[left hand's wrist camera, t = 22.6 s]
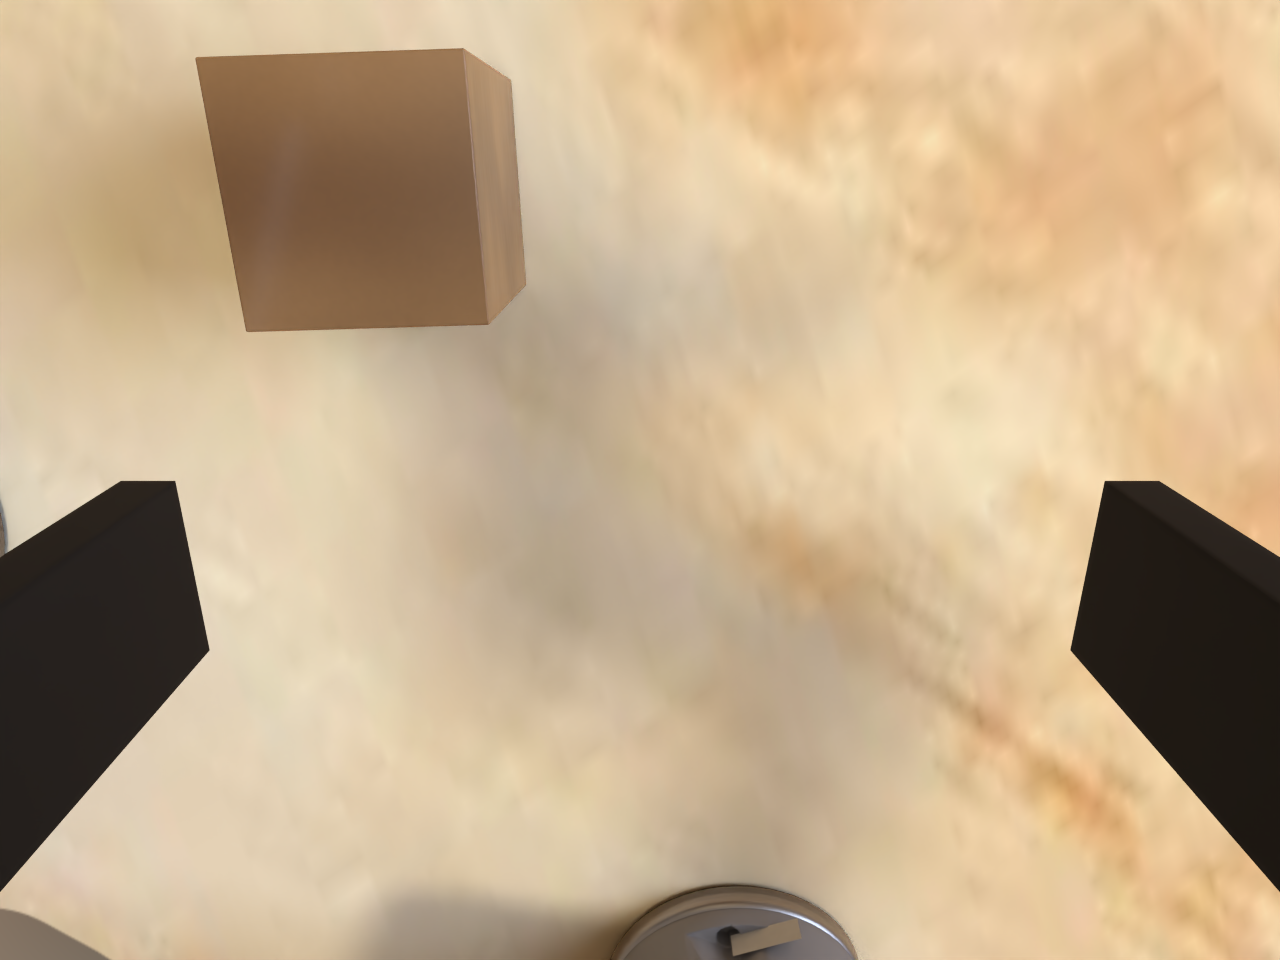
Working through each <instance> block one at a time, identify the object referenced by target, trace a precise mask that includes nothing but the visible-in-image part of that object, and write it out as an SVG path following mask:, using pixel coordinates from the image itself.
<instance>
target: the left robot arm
mask: <svg viewBox="0 0 1280 960" xmlns="http://www.w3.org/2000/svg"><path fill="white" fill-rule="evenodd" d="M208 651H209V645H208V640H207V635H206V630H205V625H204V620H203V616H202V611H201V606H200V601H199V596H198V591H197V586H196V581H195V576H194V571H193V566H192V561H191V557H190V552H189V547H188V542H187V537H186V532H185V527H184V522H183V517H182V512H181V507H180V502H179V498H178V493H177V488H176V483H175V481H120V482H119V483H117V484H115V485H114V486H112V487H111V488H109V489H108V490H106V491H104V492H103V493H101V494H100V495H98V496H96V497H95V498H93V499H92V500H90V501H89V502H87V503H85V504H84V505H82V506H81V507H79V508H77V509H76V510H74V511H73V512H71V513H70V514H68V515H66V516H65V517H63V518H62V519H60V520H58V521H57V522H55V523H54V524H52V525H51V526H49V527H47V528H46V529H44V530H43V531H41V532H39V533H38V534H36V535H35V536H33V537H32V538H30V539H28V540H27V541H25V542H24V543H22V544H20V545H19V546H17V547H16V548H14V549H13V550H11V551H9V552H8V553H6V554H5V555H3V556H1V557H0V891H1V890H2V889H3V888H4V887H5V886H6V885H7V883H8V882H9V881H10V880H11V879H12V878H13V876H14V875H15V874H16V873H17V872H18V871H19V870H20V868H21V867H22V866H23V865H24V864H25V863H26V861H27V860H28V859H29V858H30V857H31V856H32V855H33V853H34V852H35V851H36V850H37V849H38V848H39V846H40V845H41V844H42V843H43V842H44V841H45V840H46V838H47V837H48V836H49V835H50V834H51V833H52V831H53V830H54V829H55V828H56V827H57V826H58V825H59V823H60V822H61V821H62V820H63V819H64V818H65V816H66V815H67V814H68V813H69V812H70V811H71V810H72V808H73V807H74V806H75V805H76V804H77V803H78V801H79V800H80V799H81V798H82V797H83V796H84V794H85V793H86V792H87V791H88V790H89V789H90V788H91V786H92V785H93V784H94V783H95V782H96V781H97V779H98V778H99V777H100V776H101V775H102V774H103V773H104V771H105V770H106V769H107V768H108V767H109V766H110V764H111V763H112V762H113V761H114V760H115V759H116V758H117V756H118V755H119V754H120V753H121V752H122V751H123V749H124V748H125V747H126V746H127V745H128V744H129V743H130V741H131V740H132V739H133V738H134V737H135V736H136V734H137V733H138V732H139V731H140V730H141V729H142V728H143V726H144V725H145V724H146V723H147V722H148V721H149V719H150V718H151V717H152V716H153V715H154V714H155V713H156V711H157V710H158V709H159V708H160V707H161V706H162V704H163V703H164V702H165V701H166V700H167V699H168V698H169V696H170V695H171V694H172V693H173V692H174V691H175V689H176V688H177V687H178V686H179V685H180V684H181V683H182V681H183V680H184V679H185V678H186V677H187V676H188V674H189V673H190V672H191V671H192V670H193V669H194V668H195V666H196V665H197V664H198V663H199V662H200V661H201V659H202V658H203V657H204V656H205V655H206V654H207V653H208ZM1071 651H1072V653H1073V654H1074V655H1075V656H1076V657H1077V658H1078V659H1079V661H1080V662H1081V663H1082V664H1083V665H1084V666H1085V668H1086V669H1087V670H1088V671H1089V672H1090V673H1091V674H1092V676H1093V677H1094V678H1095V679H1096V680H1097V681H1098V683H1099V684H1100V685H1101V686H1102V687H1103V688H1104V689H1105V691H1106V692H1107V693H1108V694H1109V695H1110V696H1111V698H1112V699H1113V700H1114V701H1115V702H1116V703H1117V704H1118V706H1119V707H1120V708H1121V709H1122V710H1123V711H1124V713H1125V714H1126V715H1127V716H1128V717H1129V718H1130V719H1131V721H1132V722H1133V723H1134V724H1135V725H1136V726H1137V728H1138V729H1139V730H1140V731H1141V732H1142V733H1143V734H1144V736H1145V737H1146V738H1147V739H1148V740H1149V741H1150V743H1151V744H1152V745H1153V746H1154V747H1155V748H1156V749H1157V751H1158V752H1159V753H1160V754H1161V755H1162V756H1163V758H1164V759H1165V760H1166V761H1167V762H1168V763H1169V764H1170V766H1171V767H1172V768H1173V769H1174V770H1175V771H1176V773H1177V774H1178V775H1179V776H1180V777H1181V778H1182V779H1183V781H1184V782H1185V783H1186V784H1187V785H1188V786H1189V788H1190V789H1191V790H1192V791H1193V792H1194V793H1195V795H1196V796H1197V797H1198V798H1199V799H1200V800H1201V801H1202V803H1203V804H1204V805H1205V806H1206V807H1207V808H1208V810H1209V811H1210V812H1211V813H1212V814H1213V815H1214V816H1215V818H1216V819H1217V820H1218V821H1219V822H1220V823H1221V825H1222V826H1223V827H1224V828H1225V829H1226V830H1227V831H1228V833H1229V834H1230V835H1231V836H1232V837H1233V838H1234V840H1235V841H1236V842H1237V843H1238V844H1239V845H1240V846H1241V848H1242V849H1243V850H1244V851H1245V852H1246V853H1247V855H1248V856H1249V857H1250V858H1251V859H1252V860H1253V861H1254V863H1255V864H1256V865H1257V866H1258V867H1259V868H1260V870H1261V871H1262V872H1263V873H1264V874H1265V875H1266V876H1267V878H1268V879H1269V880H1270V881H1271V882H1272V883H1273V885H1274V886H1275V887H1276V888H1277V889H1278V890H1279V891H1280V557H1279V556H1277V555H1275V554H1274V553H1272V552H1271V551H1269V550H1267V549H1266V548H1264V547H1263V546H1261V545H1260V544H1258V543H1256V542H1255V541H1253V540H1252V539H1250V538H1248V537H1247V536H1245V535H1244V534H1242V533H1241V532H1239V531H1237V530H1236V529H1234V528H1233V527H1231V526H1229V525H1228V524H1226V523H1225V522H1223V521H1222V520H1220V519H1218V518H1217V517H1215V516H1214V515H1212V514H1210V513H1209V512H1207V511H1206V510H1204V509H1203V508H1201V507H1199V506H1198V505H1196V504H1195V503H1193V502H1191V501H1190V500H1188V499H1187V498H1185V497H1184V496H1182V495H1180V494H1179V493H1177V492H1176V491H1174V490H1172V489H1171V488H1169V487H1168V486H1166V485H1165V484H1163V483H1161V482H1160V481H1105V483H1104V488H1103V493H1102V498H1101V502H1100V507H1099V512H1098V517H1097V522H1096V527H1095V532H1094V537H1093V542H1092V547H1091V552H1090V557H1089V561H1088V566H1087V571H1086V576H1085V581H1084V586H1083V591H1082V596H1081V601H1080V606H1079V611H1078V616H1077V620H1076V625H1075V630H1074V635H1073V640H1072V645H1071ZM611 960H858V958H857V954H856V952H855V949H854V947H853V945H852V943H851V941H850V939H849V938H848V936H847V935H846V933H845V932H844V931H843V929H842V928H841V927H840V926H839V925H838V924H837V923H836V922H835V921H834V920H833V919H832V918H831V917H830V916H829V915H827V914H826V913H825V912H823V911H822V910H820V909H819V908H817V907H816V906H814V905H812V904H811V903H809V902H807V901H805V900H802V899H800V898H798V897H795V896H793V895H790V894H787V893H783V892H780V891H776V890H771V889H766V888H759V887H749V886H729V887H718V888H710V889H705V890H700V891H696V892H693V893H689V894H686V895H683V896H680V897H678V898H675V899H672V900H670V901H668V902H666V903H664V904H662V905H660V906H659V907H657V908H655V909H654V910H652V911H650V912H649V913H648V914H646V915H645V916H643V917H642V918H641V919H640V920H639V921H637V922H636V923H635V924H634V925H633V926H632V927H631V928H630V929H629V930H628V931H627V933H626V934H625V935H624V936H623V938H622V939H621V940H620V942H619V944H618V945H617V947H616V949H615V951H614V953H613V955H612V957H611Z"/></svg>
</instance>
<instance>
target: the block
mask: <svg viewBox="0 0 1280 960" xmlns="http://www.w3.org/2000/svg"><path fill="white" fill-rule="evenodd" d="M196 64H197V69H198V75H199V80H200V85H201V91H202V96H203V101H204V107H205V112H206V118H207V123H208V128H209V134H210V139H211V144H212V150H213V155H214V161H215V166H216V171H217V177H218V182H219V187H220V193H221V198H222V204H223V209H224V214H225V220H226V225H227V230H228V236H229V241H230V247H231V252H232V257H233V263H234V268H235V273H236V279H237V284H238V290H239V295H240V300H241V306H242V311H243V316H244V322H245V327H246V331H247V332H263V331H296V330H329V329H362V328H395V327H428V326H461V325H488V324H490V323H491V321H492V320H493V319H494V318H495V317H496V316H497V315H498V314H499V313H500V312H501V311H502V310H503V309H504V308H505V307H506V305H507V304H508V303H509V302H510V301H511V300H512V299H513V298H514V297H515V296H516V295H517V294H518V293H519V292H520V291H521V290H522V288H523V287H524V286H525V285H526V278H525V265H524V251H523V238H522V224H521V210H520V197H519V183H518V170H517V156H516V143H515V129H514V116H513V102H512V89H511V80H510V79H508V78H507V77H505V76H504V75H502V74H501V73H499V72H498V71H497V70H495V69H494V68H492V67H491V66H489V65H488V64H486V63H485V62H483V61H482V60H480V59H479V58H477V57H476V56H474V55H473V54H471V53H470V52H468V51H467V50H465V49H463V48H460V49H430V50H400V51H370V52H340V53H309V54H279V55H249V56H219V57H197V58H196Z"/></svg>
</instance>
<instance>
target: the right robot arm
mask: <svg viewBox="0 0 1280 960" xmlns="http://www.w3.org/2000/svg"><path fill="white" fill-rule="evenodd" d="M4 546H5V542H4V530H3V524H2V519H1V514H0V557H1V556H3V555H4Z"/></svg>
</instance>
